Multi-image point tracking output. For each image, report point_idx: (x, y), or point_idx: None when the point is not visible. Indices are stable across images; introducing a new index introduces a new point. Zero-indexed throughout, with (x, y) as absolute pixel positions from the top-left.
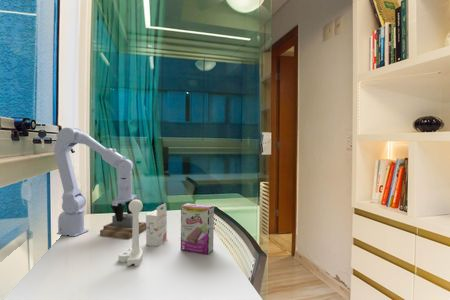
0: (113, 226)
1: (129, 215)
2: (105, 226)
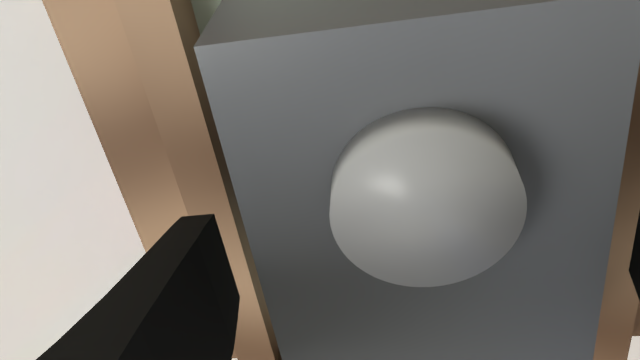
0: (611, 249)
1: (512, 156)
2: (629, 344)
